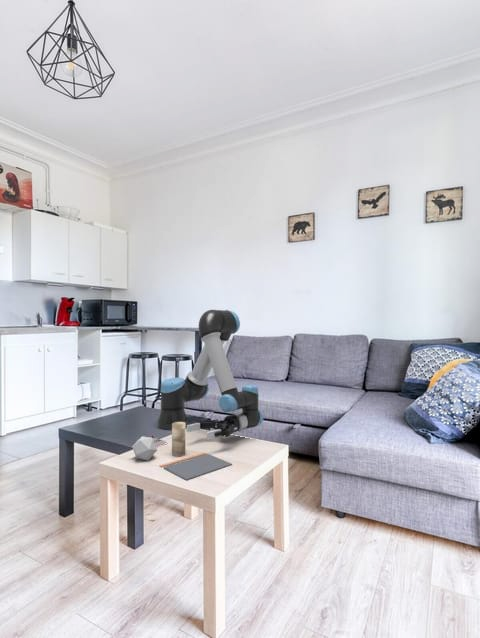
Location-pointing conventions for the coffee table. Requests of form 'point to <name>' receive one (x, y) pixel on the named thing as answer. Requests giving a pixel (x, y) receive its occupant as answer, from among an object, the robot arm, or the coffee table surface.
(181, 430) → the beige banded cylinder
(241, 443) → the coffee table surface
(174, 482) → the coffee table surface
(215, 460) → the mat
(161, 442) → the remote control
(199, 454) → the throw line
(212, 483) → the coffee table surface
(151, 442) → the die
